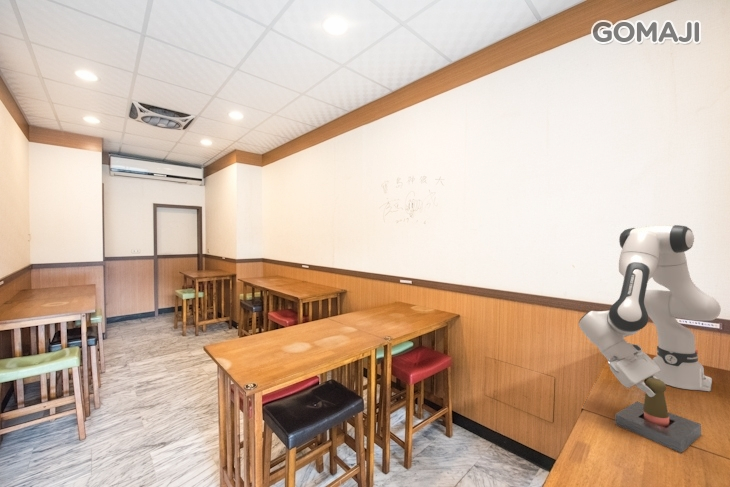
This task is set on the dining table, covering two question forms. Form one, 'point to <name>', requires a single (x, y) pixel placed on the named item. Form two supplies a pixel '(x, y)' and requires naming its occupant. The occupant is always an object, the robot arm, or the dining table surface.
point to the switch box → (659, 428)
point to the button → (657, 420)
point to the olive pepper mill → (656, 399)
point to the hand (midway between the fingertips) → (657, 393)
